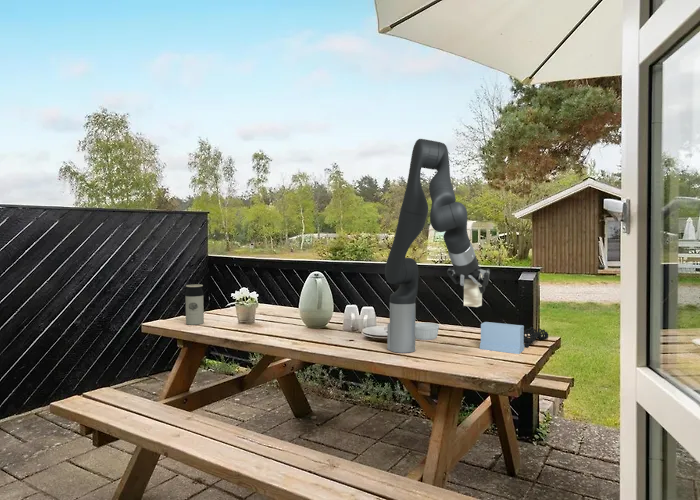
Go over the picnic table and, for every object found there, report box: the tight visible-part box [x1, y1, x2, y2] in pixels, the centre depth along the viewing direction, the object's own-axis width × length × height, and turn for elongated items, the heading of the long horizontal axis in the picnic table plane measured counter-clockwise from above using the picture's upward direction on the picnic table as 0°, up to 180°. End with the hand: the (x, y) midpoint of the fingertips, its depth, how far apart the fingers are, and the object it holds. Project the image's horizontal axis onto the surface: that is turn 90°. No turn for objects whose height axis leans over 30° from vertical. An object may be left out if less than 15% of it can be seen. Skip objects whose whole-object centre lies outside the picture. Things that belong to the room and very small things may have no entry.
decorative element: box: [524, 326, 549, 349], centre depth 191 cm, size 22×5×6 cm, turn 136°
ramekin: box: [415, 321, 440, 341], centre depth 202 cm, size 11×11×5 cm
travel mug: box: [184, 283, 205, 326], centre depth 233 cm, size 8×8×18 cm
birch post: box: [463, 273, 483, 308], centre depth 162 cm, size 4×4×11 cm
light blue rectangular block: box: [479, 321, 525, 355], centre depth 181 cm, size 14×7×9 cm, turn 57°
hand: (474, 290), depth 164 cm, fingers closed on birch post, 4 cm apart
